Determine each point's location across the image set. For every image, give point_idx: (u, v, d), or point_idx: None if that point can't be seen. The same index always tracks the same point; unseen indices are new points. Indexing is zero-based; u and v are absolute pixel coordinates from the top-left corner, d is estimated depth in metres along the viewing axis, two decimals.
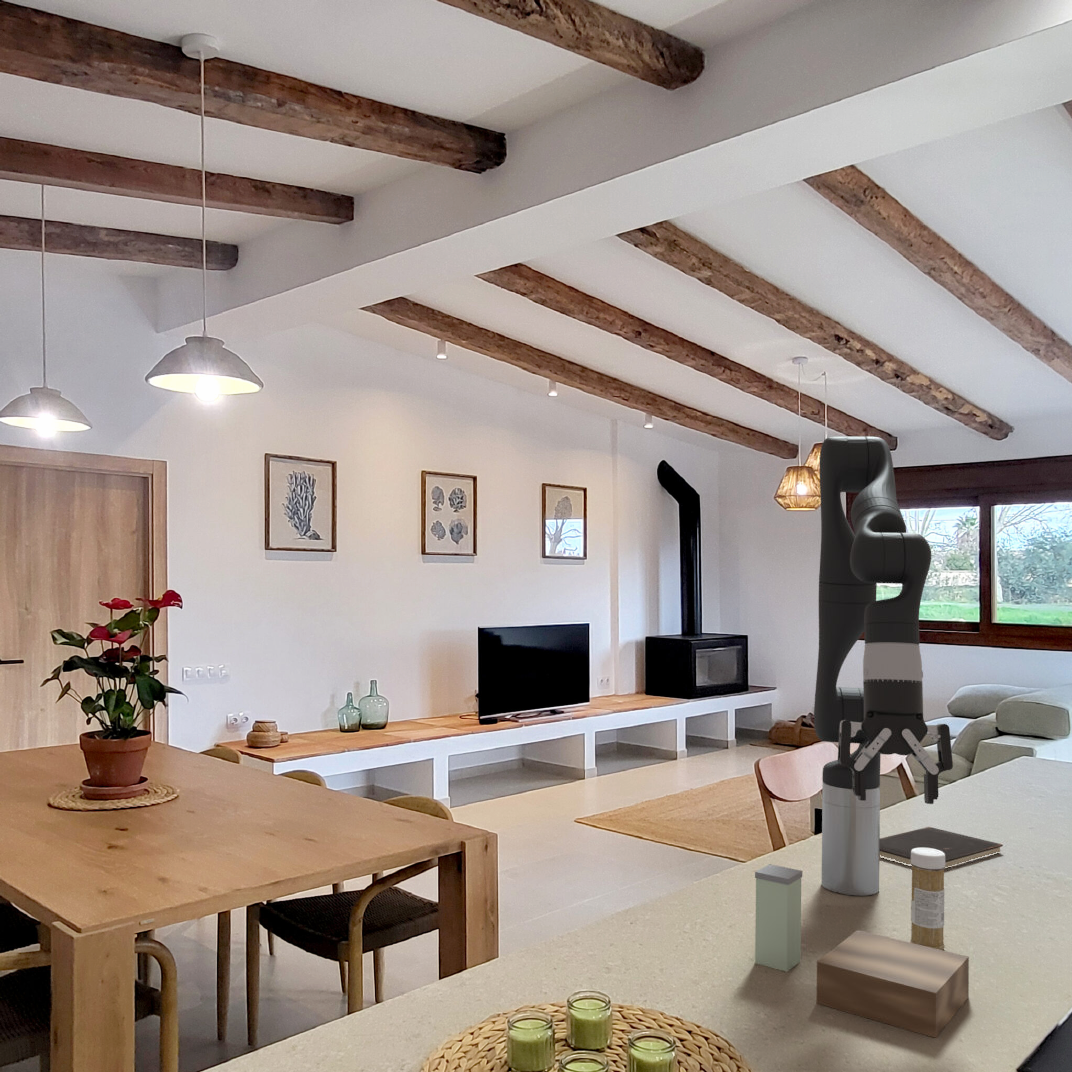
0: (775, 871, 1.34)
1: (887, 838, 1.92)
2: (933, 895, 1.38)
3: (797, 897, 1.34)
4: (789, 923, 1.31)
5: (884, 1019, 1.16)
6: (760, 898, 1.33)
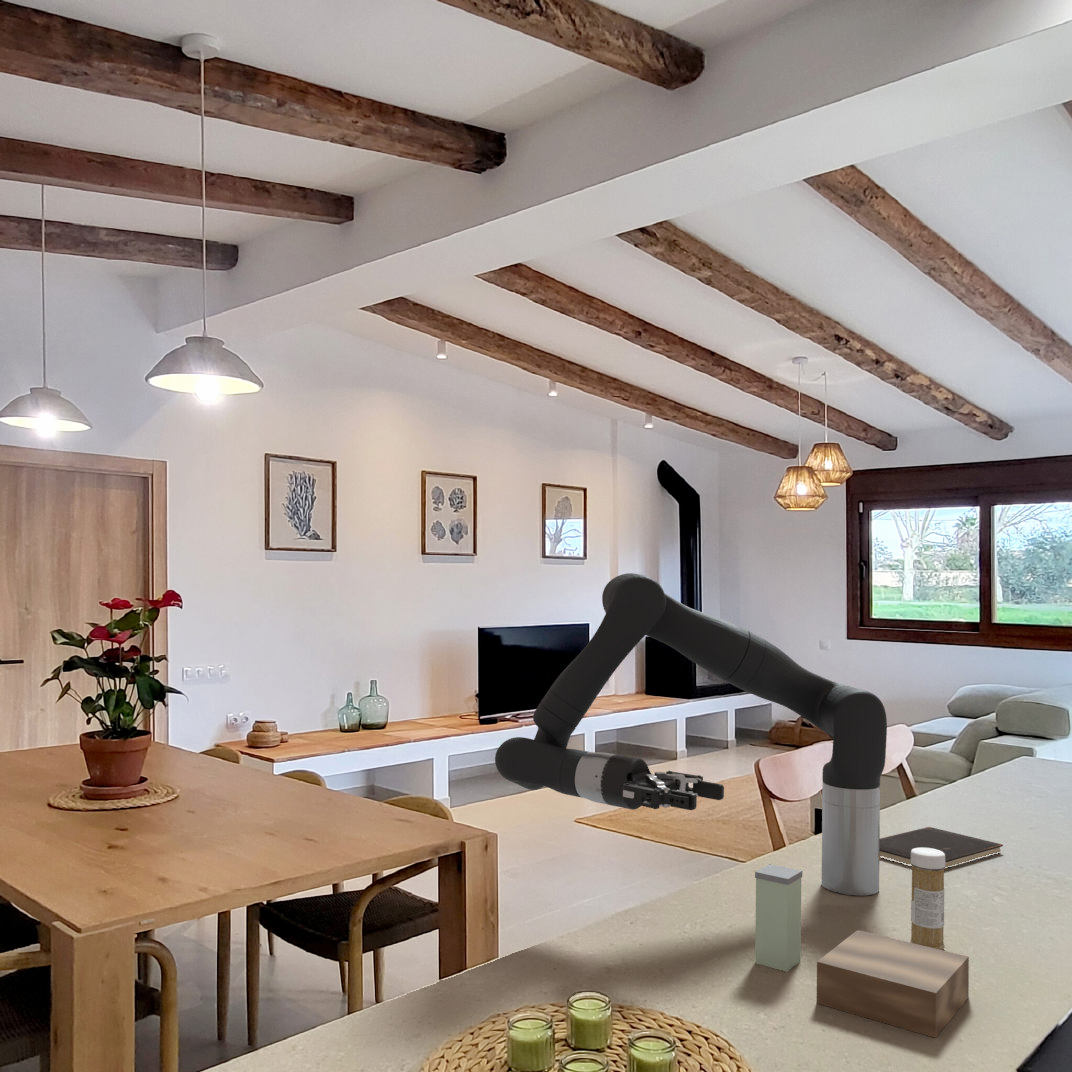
0: (775, 871, 1.34)
1: (887, 838, 1.92)
2: (933, 895, 1.38)
3: (797, 897, 1.34)
4: (789, 923, 1.31)
5: (884, 1019, 1.16)
6: (760, 898, 1.33)
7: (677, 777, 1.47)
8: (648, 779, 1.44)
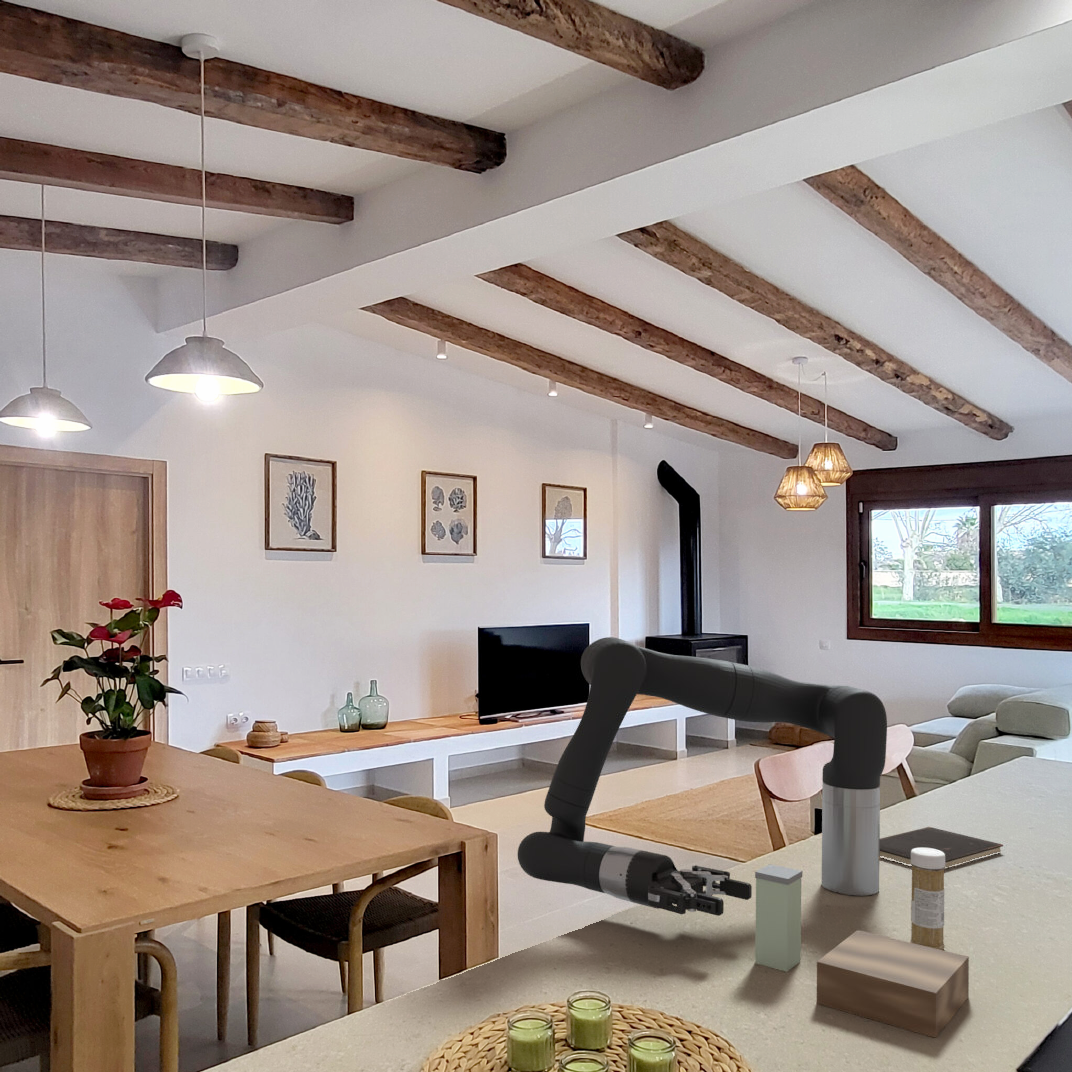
0: (775, 871, 1.34)
1: (887, 838, 1.92)
2: (933, 895, 1.38)
3: (797, 897, 1.34)
4: (789, 923, 1.31)
5: (884, 1019, 1.16)
6: (760, 898, 1.33)
7: (703, 875, 1.44)
8: (674, 880, 1.41)
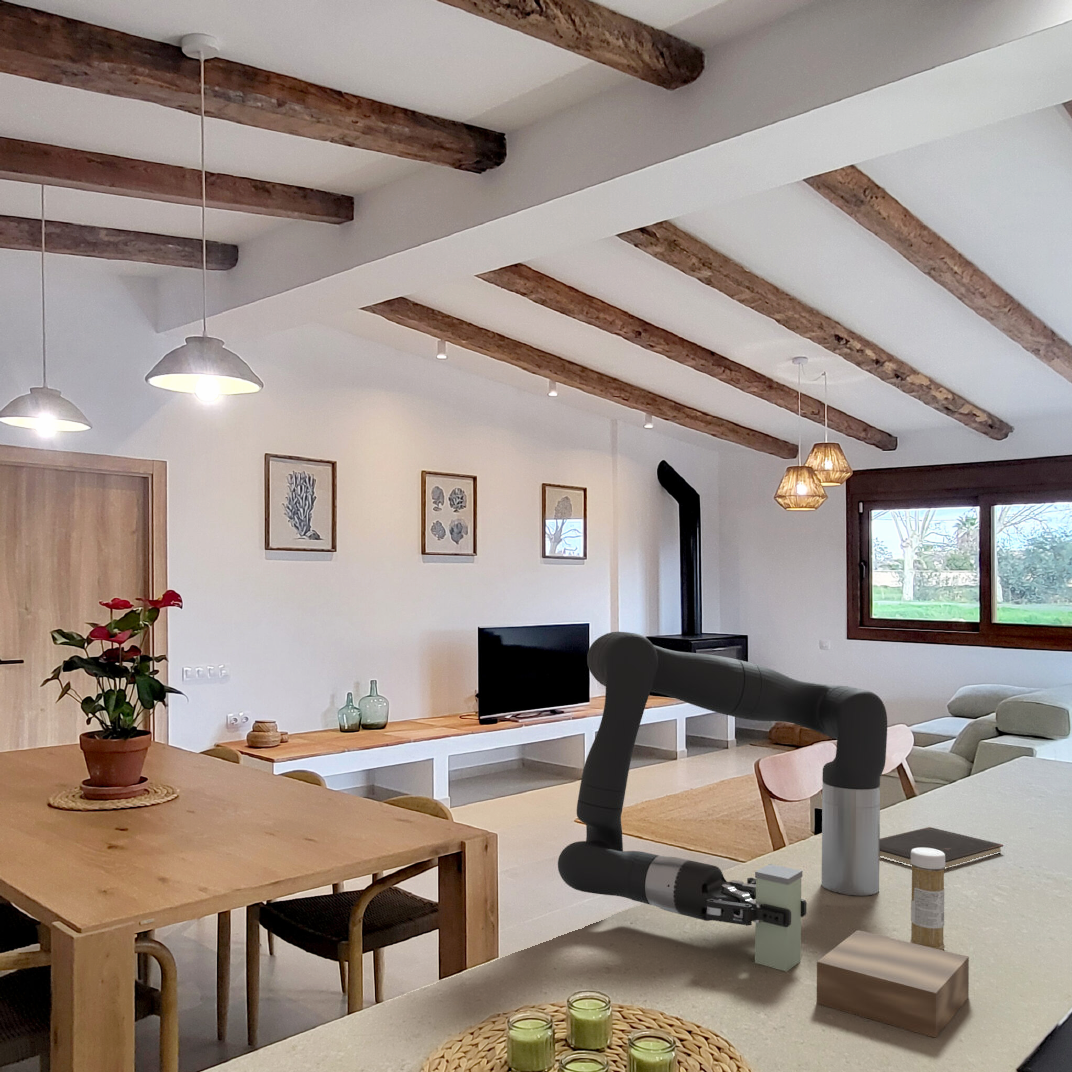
0: (775, 871, 1.34)
1: (887, 838, 1.91)
2: (933, 895, 1.38)
3: (797, 897, 1.34)
4: None
5: (884, 1019, 1.16)
6: (760, 898, 1.33)
7: (753, 888, 1.38)
8: (728, 891, 1.36)
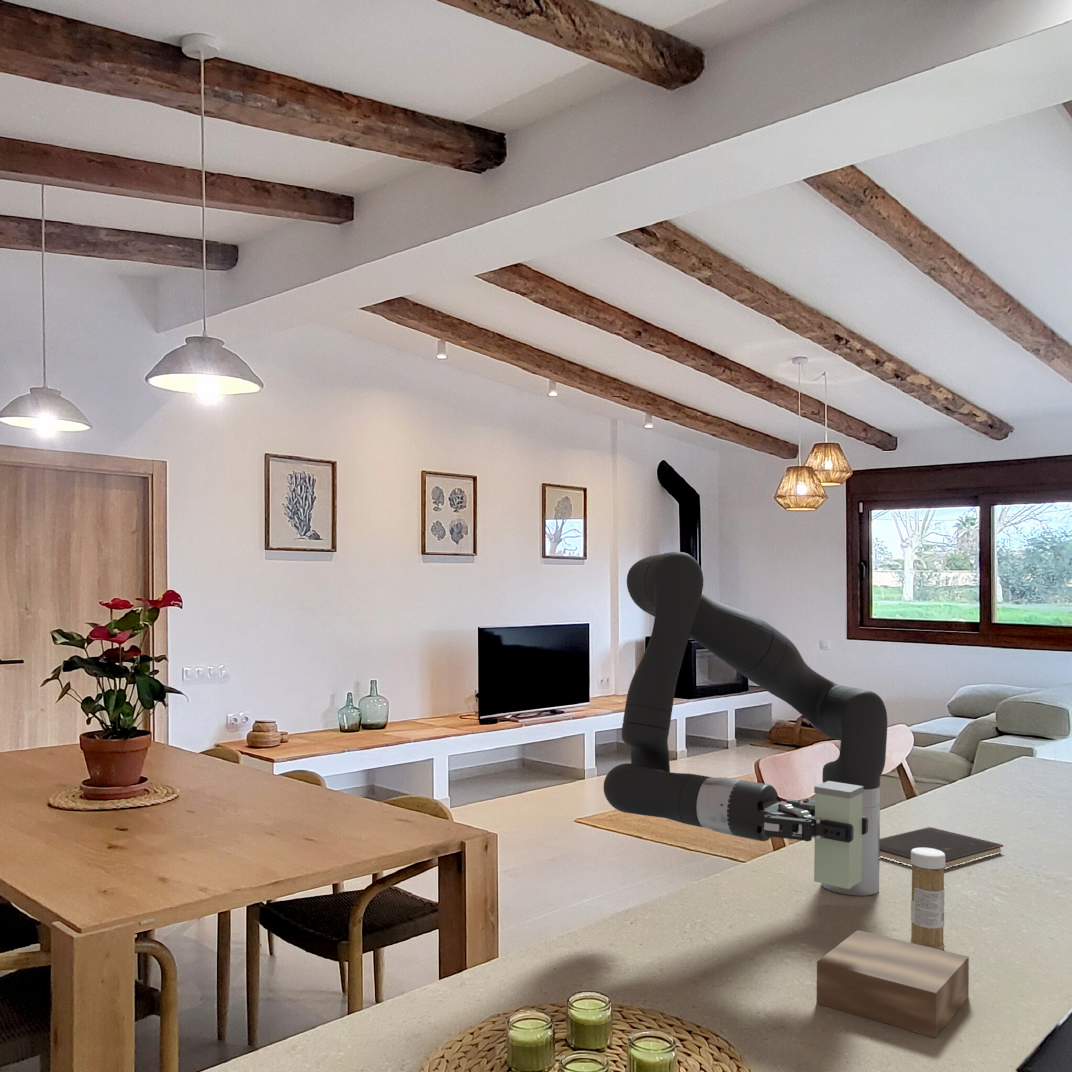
0: (835, 786, 1.28)
1: (887, 838, 1.91)
2: (933, 895, 1.38)
3: (858, 813, 1.28)
4: None
5: (884, 1019, 1.16)
6: (819, 813, 1.27)
7: (811, 807, 1.32)
8: (785, 808, 1.30)
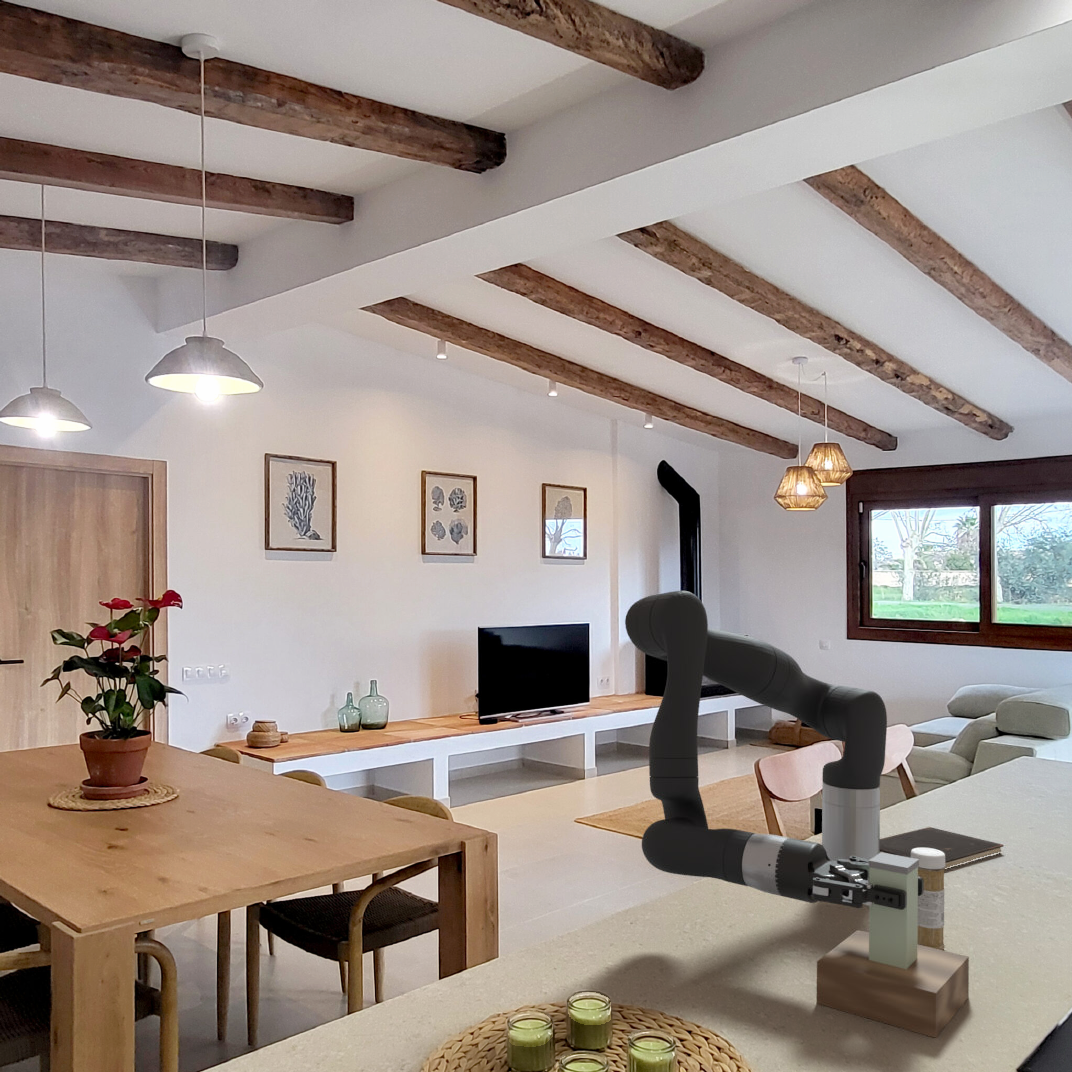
0: (890, 860, 1.23)
1: (888, 838, 1.91)
2: (933, 895, 1.38)
3: (914, 888, 1.22)
4: (908, 916, 1.20)
5: (884, 1019, 1.16)
6: None
7: (864, 866, 1.27)
8: (836, 870, 1.25)
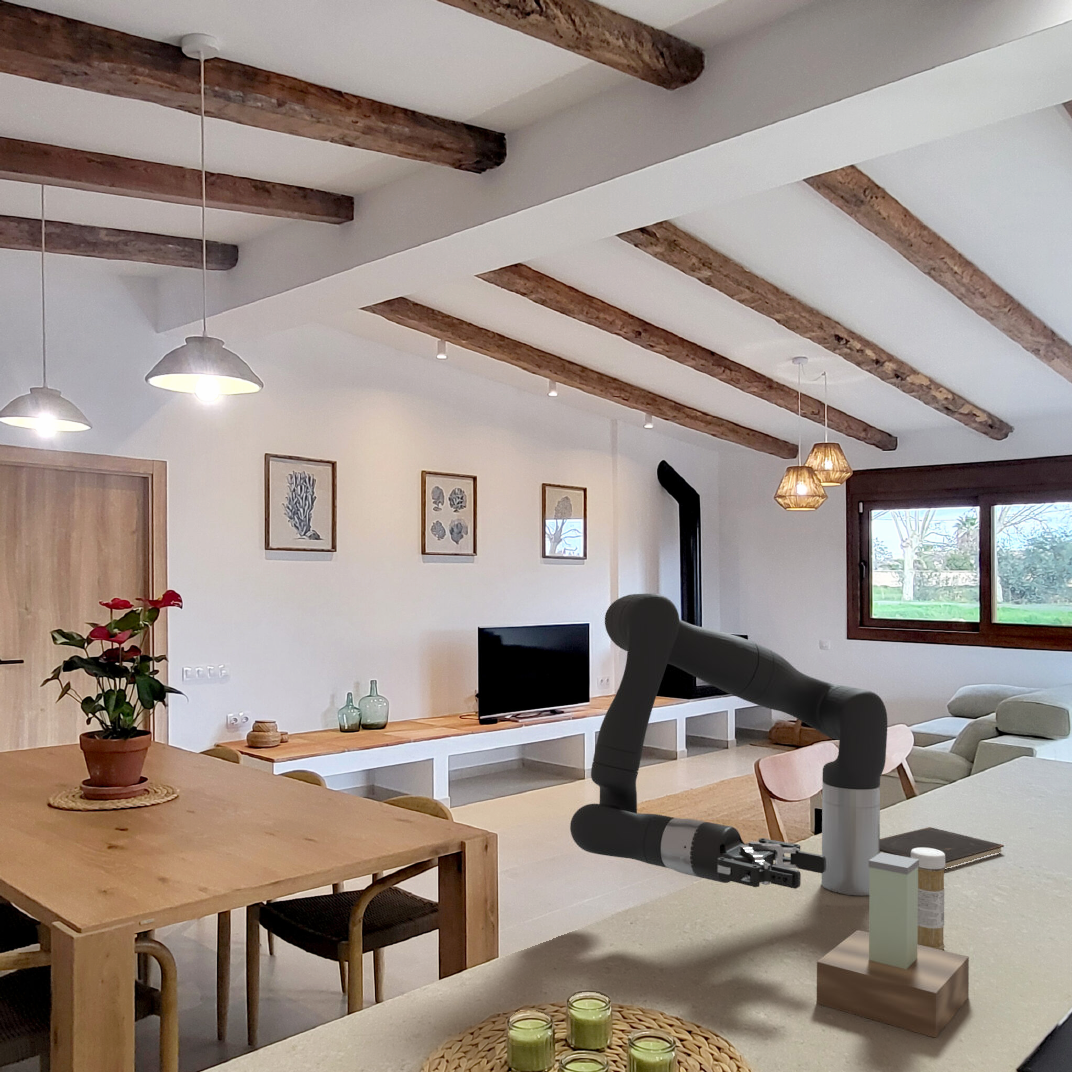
0: (890, 860, 1.23)
1: (888, 838, 1.91)
2: (933, 895, 1.38)
3: (914, 888, 1.22)
4: (908, 916, 1.20)
5: (884, 1019, 1.16)
6: (874, 889, 1.22)
7: (773, 847, 1.35)
8: (744, 851, 1.33)
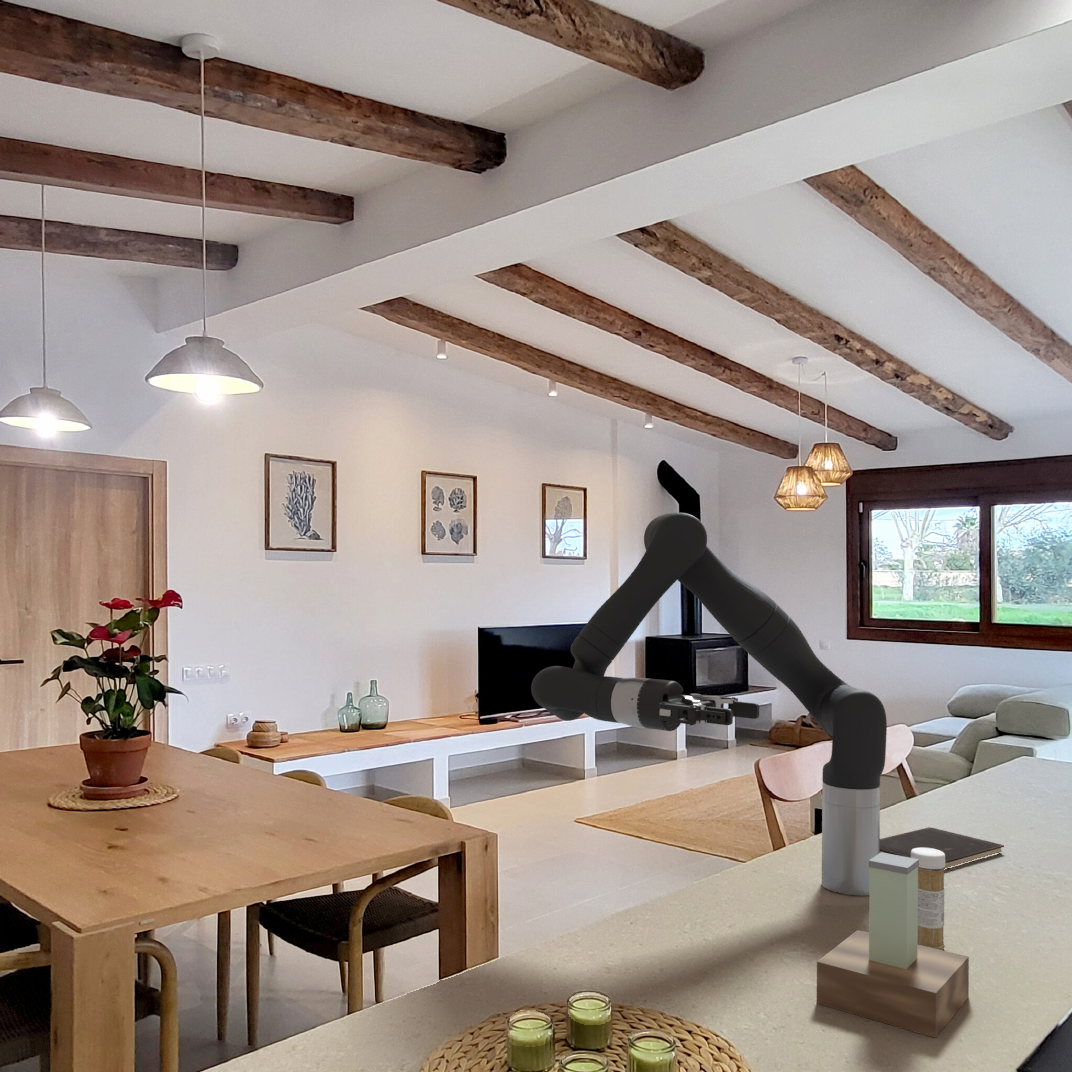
0: (890, 860, 1.23)
1: (888, 838, 1.91)
2: (933, 895, 1.38)
3: (914, 888, 1.22)
4: (908, 916, 1.20)
5: (884, 1019, 1.16)
6: (874, 889, 1.22)
7: (712, 698, 1.48)
8: (684, 699, 1.46)
